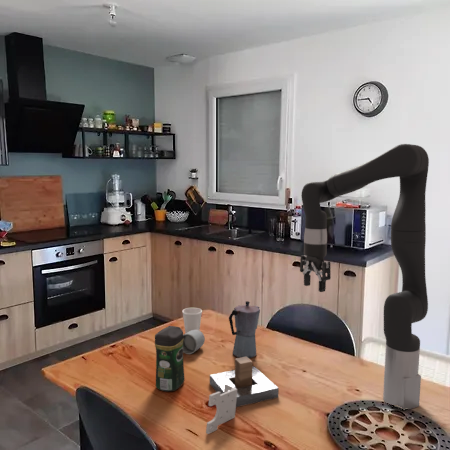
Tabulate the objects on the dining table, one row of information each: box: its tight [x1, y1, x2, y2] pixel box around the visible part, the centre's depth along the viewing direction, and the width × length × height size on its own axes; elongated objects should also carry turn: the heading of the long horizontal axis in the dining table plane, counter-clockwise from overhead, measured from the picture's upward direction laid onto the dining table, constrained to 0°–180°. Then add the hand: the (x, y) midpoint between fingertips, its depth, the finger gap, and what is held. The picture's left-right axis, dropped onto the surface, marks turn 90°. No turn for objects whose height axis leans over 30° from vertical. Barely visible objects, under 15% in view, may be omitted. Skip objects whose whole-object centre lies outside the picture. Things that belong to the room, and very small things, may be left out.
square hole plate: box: [209, 365, 280, 408], centre depth 138 cm, size 16×16×3 cm
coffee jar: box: [154, 325, 185, 392], centre depth 140 cm, size 10×8×19 cm
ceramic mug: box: [183, 330, 206, 355], centre depth 169 cm, size 11×8×8 cm
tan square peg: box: [234, 356, 253, 388], centre depth 138 cm, size 4×4×10 cm
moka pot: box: [228, 301, 261, 359], centre depth 164 cm, size 10×15×20 cm, turn 137°
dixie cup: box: [181, 307, 203, 334], centre depth 185 cm, size 8×8×10 cm
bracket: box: [205, 384, 237, 435], centre depth 121 cm, size 11×4×10 cm, turn 141°
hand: (314, 288), depth 152 cm, fingers open, 8 cm apart
